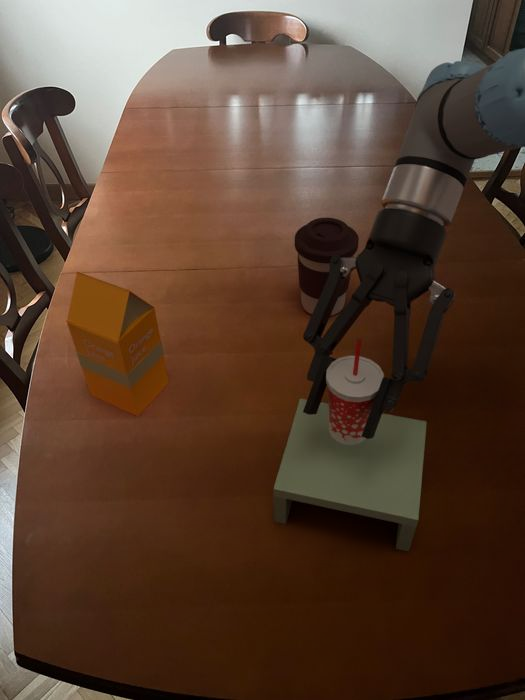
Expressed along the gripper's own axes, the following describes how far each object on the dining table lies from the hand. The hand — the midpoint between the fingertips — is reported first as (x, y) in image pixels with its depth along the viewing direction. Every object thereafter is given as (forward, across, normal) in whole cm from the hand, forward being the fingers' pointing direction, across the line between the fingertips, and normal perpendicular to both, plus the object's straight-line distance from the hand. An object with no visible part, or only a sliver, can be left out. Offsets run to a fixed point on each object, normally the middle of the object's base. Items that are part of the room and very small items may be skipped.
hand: (338, 424), depth 63 cm
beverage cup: (+1, 0, -6) cm, 6 cm away
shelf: (+8, -1, -12) cm, 15 cm away
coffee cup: (-14, +17, -35) cm, 41 cm away
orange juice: (+9, +34, -12) cm, 37 cm away
